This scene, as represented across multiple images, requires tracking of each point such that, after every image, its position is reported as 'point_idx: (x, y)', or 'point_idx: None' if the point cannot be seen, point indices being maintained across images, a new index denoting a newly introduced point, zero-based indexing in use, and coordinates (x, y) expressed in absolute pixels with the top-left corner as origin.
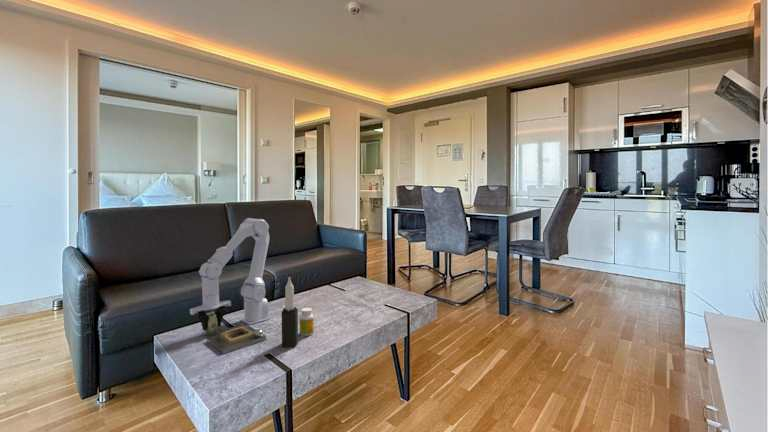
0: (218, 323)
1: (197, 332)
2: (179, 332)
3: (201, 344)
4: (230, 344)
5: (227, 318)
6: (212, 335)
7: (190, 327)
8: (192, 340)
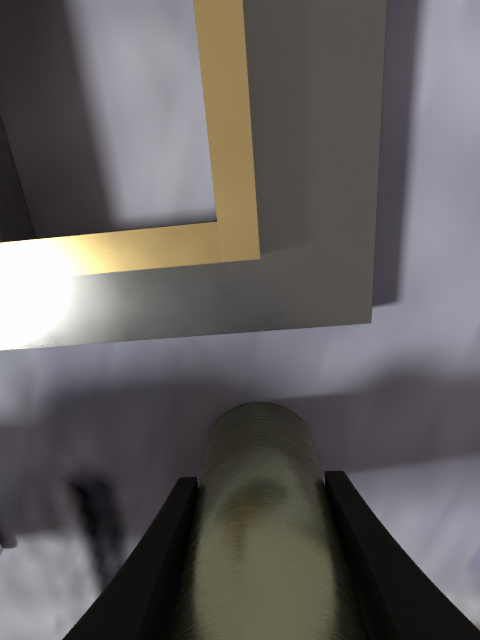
0: (189, 518)
1: None
2: None
3: (415, 286)
4: None
5: None
6: (271, 405)
7: None
8: (427, 422)
